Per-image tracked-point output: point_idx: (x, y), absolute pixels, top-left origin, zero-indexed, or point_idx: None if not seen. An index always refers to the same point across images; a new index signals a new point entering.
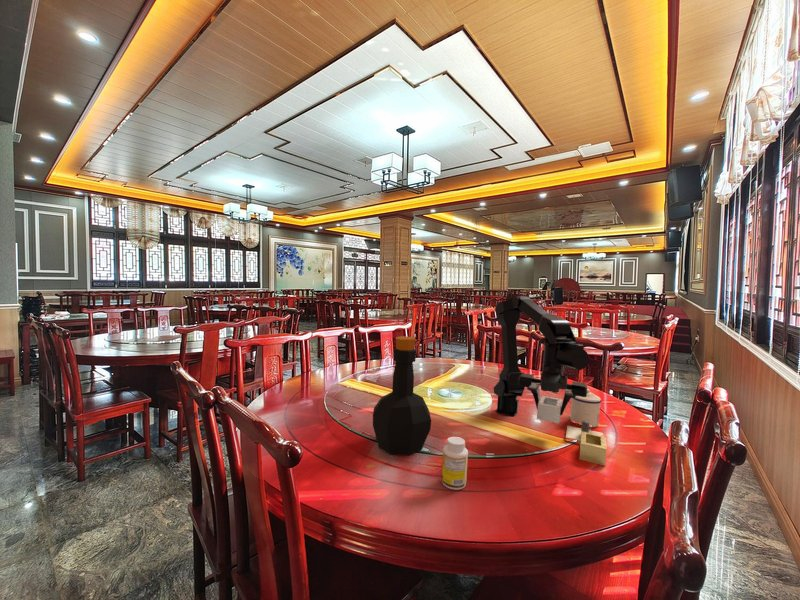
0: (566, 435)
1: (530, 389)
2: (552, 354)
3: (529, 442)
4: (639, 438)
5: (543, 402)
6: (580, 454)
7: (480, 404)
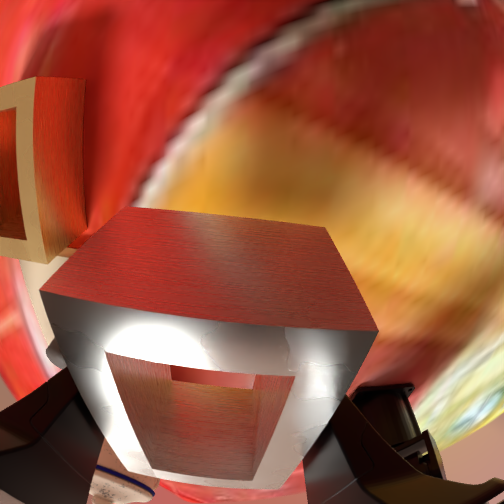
0: None
1: (488, 493)
2: None
3: (325, 151)
4: (7, 355)
5: (275, 415)
6: (70, 79)
7: (435, 405)
